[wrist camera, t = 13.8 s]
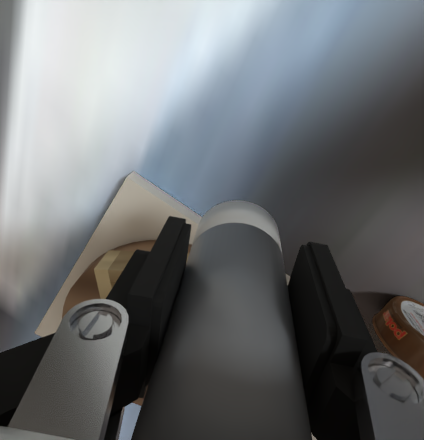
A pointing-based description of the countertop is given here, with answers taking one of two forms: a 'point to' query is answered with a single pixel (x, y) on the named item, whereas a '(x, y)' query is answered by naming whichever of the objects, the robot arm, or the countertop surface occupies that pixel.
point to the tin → (403, 330)
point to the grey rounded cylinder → (229, 340)
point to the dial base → (123, 233)
